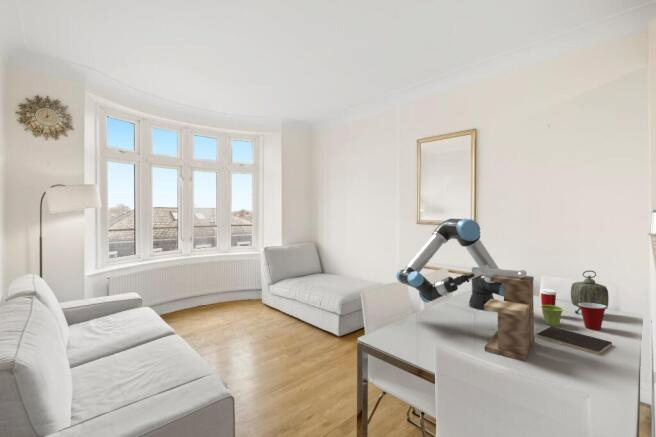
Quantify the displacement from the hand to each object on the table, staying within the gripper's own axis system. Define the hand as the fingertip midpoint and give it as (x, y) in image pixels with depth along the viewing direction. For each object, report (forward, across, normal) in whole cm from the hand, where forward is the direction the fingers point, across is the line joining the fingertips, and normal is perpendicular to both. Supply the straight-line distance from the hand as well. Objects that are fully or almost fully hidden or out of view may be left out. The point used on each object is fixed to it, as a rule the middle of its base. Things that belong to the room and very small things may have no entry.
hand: (485, 269), depth 147 cm
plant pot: (+3, -37, -39) cm, 54 cm away
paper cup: (0, -52, -38) cm, 64 cm away
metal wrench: (+4, 0, -5) cm, 6 cm away
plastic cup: (+16, -42, -47) cm, 65 cm away
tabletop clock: (+15, -65, -47) cm, 81 cm away
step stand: (-7, +5, -34) cm, 35 cm away
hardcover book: (+11, -17, -45) cm, 49 cm away
